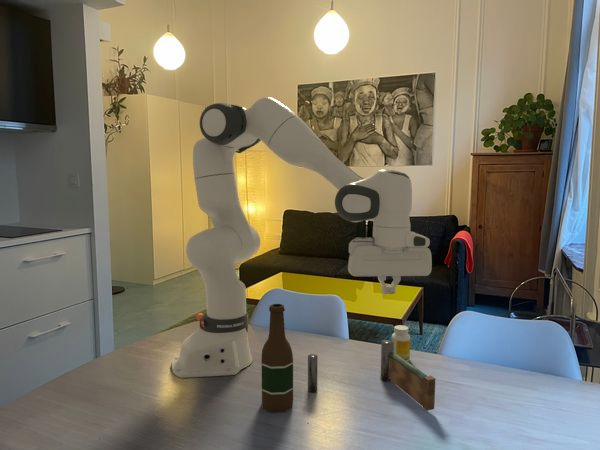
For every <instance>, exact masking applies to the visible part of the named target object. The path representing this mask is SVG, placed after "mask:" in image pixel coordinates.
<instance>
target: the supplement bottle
mask: <svg viewBox="0 0 600 450" xmlns="http://www.w3.org/2000/svg"><path fill="white" fill-rule="evenodd" d="M393 331H394V332H393V333H392V334H391V340H390V341H393V342H394V353H395V354H397V355H398V356H400V357H401V358H403V359H404V360H405V361H407V362H408V363H409V361H410V358H411V335H410V334H409V332H410V331H409V327H408V326H407V325H404V324H403V325H401V324H399V325H395V326H394V329H393Z"/></svg>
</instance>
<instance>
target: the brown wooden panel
mask: <svg viewBox="0 0 600 450" xmlns="http://www.w3.org/2000/svg"><path fill="white" fill-rule="evenodd" d="M388 378H389V379H390V380H391V381H390V382H392V383H393V384H394V385H396V386H397V387H398V388H399V389H400V390H402V391H403V392H404V393H406V394H407V395H408V396H409V397H411V398H412V400H414V401H415V402H417V403H418V404H419V405H420V406H421V407H422V408H423V409H424V410H425V411H427V412H428V411H432V410H435V405H436V404H435V402H436V401H435V399H436V378H435V377H434V376H432V375H427V374H426V373H424V372H423V371H421V370H420V369H418V367H417V368H416V367H415V366H414V365H412V364H411V363H410V362H409V361H408V362H407V361H405V360H404V359H403V358H401V357H400V356H398V355H397V354H395V353H394V352H390V354H389V372H388Z"/></svg>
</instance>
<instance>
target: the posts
mask: <svg viewBox="0 0 600 450" xmlns="http://www.w3.org/2000/svg"><path fill="white" fill-rule="evenodd" d="M380 347H381V348H380V349H381V351H380V380H381V381H384V382H392V381H391V380H390V379H389V378H388V372H389V354H390V352H394V342H393V341H391V340H390V339H384V340H381V346H380ZM318 361H319V359H318V355H317V353H316V354H315V353H310V354H308V355H307V392H309V393H311V394H314V393H318Z"/></svg>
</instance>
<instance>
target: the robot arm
mask: <svg viewBox="0 0 600 450" xmlns="http://www.w3.org/2000/svg"><path fill="white" fill-rule="evenodd" d="M199 129H200V131H201V134H202V136H203V137H201V138H200V139H198V140H197V141H196V142H195V143H194V146H193V151H192V166H193V167H192V168H193V177H194V184H195V185H194V186H195V190H196V196H197V202H198V203H197V204H198V207H199V209H200V210H201V211H202V212H203V213H205V214H206V216H208V218H209V220H210V221H211V224H212V226H213V227H212V228H207V229H204V230H201V231H200V232H198V233H196V234H194V235H192V236H191V237H190V238H189V239H188V242H187V244H186V250H185V251H186V257H187V260H188V262H189V263H190V265H191V266H192V267H193V268H194V269H196V270H197V271H198V272H199V274H200V277H201V279H202V281H203V284H204V288H205V297H206V300H205V301H206V313H205V314H203V313H202V312H199V313H197V314H196V319H197V321H198V322H199V323H198V324H199V328H198V329H196V330H195V331H194V332H193V333H191V334H189V336H188V337H186V338H184V340H183V341H182V342H181V343H182V344H181V345H180V346H181V347H180V351H179V354H177V355H175V356H174V357H173V359H172V361H171V371H172V372H173V374H174V375H175V376H176V377H178V378H180V379H181V378H199V377H218V376H219V377H221V376H222V377H223V376H234V375H237V374H238V373H239V372H240V371H241V370H242V369H244V368H247V367H249V365H251V364H252V363H253V356H252V352H251V350H250V343H249V339H248V338H249V337H248V331H249V315H248V312H247V288H246V285H245V283H244V282H243V281H242V280H240V279H239V277H238V275H237V271H236V264H238V263H241V262H246V261H247V260H249V259H250V258H251V257H253V256H254V255H255V254H256V253H257V252H258V251H259V249H260V246H261V236H260V235H259V232H258V230H257V229H255V227H254V226H252V225H251V224H250V222H249V221H248V219H247V217H246V215H245V212H244V209H243V208H242V205H241V201H240V198H239V193H238V188H237V180H236V174H235V168H234V161H233V160H234V155H235V153H237V154H242V153H243V152H245V151H246V150H249V149H250V148H252V147H254V146H256V145H257V144H259V143H260V142H262V143H264V144H265V146H266V147H267V148H268V149H269V150H270V151H272V152H273V153H274V155H276V156H277V157H278V158H280V159H281V160H282V161H285V162H286V163H288V164H289V165H291V166H296V167H300V168H302V169H303V168H304V169H308V170H310V171H313V172H316V173H317V174H318V175H320V176H322V177H323V178H324V179H326V180H327V181H328V182H329V183H330V184H331V185H332V186H333V187H335V188H336V189H337V190H338V191H337V193H336V195H335V197H334V207H335V210H336V212H337V214H338V215H339V216H340V217H341V218H342V219H343V220H345V221H348V222H352V223H359V222H360V223H361V222H363V221H367V220H368V221H372V223H373V225H372V237H370V236H369V237H355V238H354V239H352V240H351V241H350V242H349V243H348V250H347V251H348V253H349V257H348V264H347V270H348V273H349V274H350V275H351V276H353V277H377V280H378V282H379V284H380V285H381V293H382V294H383V295H387V294H389V295H392V294H394V295H395V294H396V288H397V286H398V285H399V284H400V282H401V279H402V277H417V276H418V277H425V276H426V277H428V276H429V275H430V274H431V273H432V267H433V263H432V262H433V260H432V259H433V258H432V252H431V249H430V248H428V247H429V246H430V245H431V243H430V241H431V240H430V238H428V237H427V236H424V235H423V234H419V233H418V232H416V231H411V221H410V215H411V212H412V208H413V207H412V205H413V188H412V187H413V186H412V180H411V178H410V177H409V176H408V175H407V173H405V172H402V171H398V170H394V169H387V168H383V169H379V170H378V171H376V172H375V173H373V174H372V175H370V176H368V177H364V178H363V177H361V176H360V175H359V174H357V173H356V172H355V171H353V170H352V169H351V168H350V167H349V166H348V165H346V164H345V162H343V161H342V160H341V159H340V158H339V157H338V156H336V155H335V154H334V153H333V152H332V151H331V150H330V149H329V148H328V147H327V145H325V143H324V142H323V141H322V140H321V139H320V138H319V137H318V135H317V134H316V133H315V132H314V131H313V129H311V128H310V127H309V125H308V124H307V123H306V122H305V121H304V120H303V119H302V118H301V117H299V115H297V114H296V113H295V112H294V111H292V110H291V108H289V107H288V106H286V105H285V104H283V103H282V102H281V101H279V100H277V99H275V98H274V97H270V96H263V97H260V98H259V99H257V100H256V101H255V102H254V103H253V104H252V105H251V106H250V107H249V108H245V107H243V106H241V105H238V104H231V103H227V102H217V103H212V104H209V105H208V106H206V107H205V109H204V110H203V111H202V112H201V115H200V118H199ZM387 277H391V278H392V279H393V280H392V282H391V284H386V283H385V281H386V280H387Z"/></svg>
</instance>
